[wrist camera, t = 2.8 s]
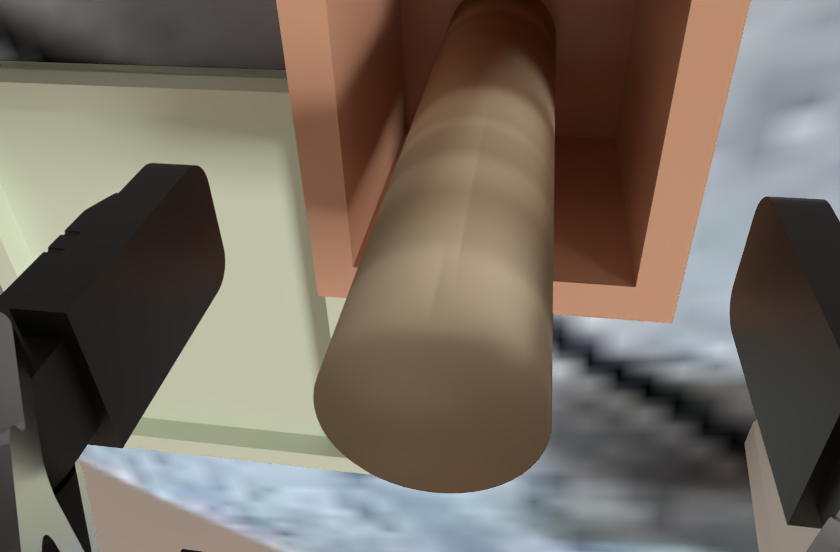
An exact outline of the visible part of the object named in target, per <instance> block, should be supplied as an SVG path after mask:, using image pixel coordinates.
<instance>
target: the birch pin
mask: <svg viewBox="0 0 840 552" xmlns="http://www.w3.org/2000/svg"><path fill="white" fill-rule="evenodd" d="M555 73H556V32H555V26H554V22H553V20H552V17H551V15H550V13H549V11H548V10H547V8H546V7H545V5H544V4H543V3H542V2H541V1H540V0H464V1H463V2H462V3H461V4H460V5H459V6H458V8H457V9H456V11H455V12H454V14H453V16H452V18H451V21H450V23H449V26H448V29H447V31H446V34H445V37H444V39H443V42H442V45H441V47H440V50H439V53H438V55H437V58H436V61H435V63H434V66H433V69H432V71H431V74H430V77H429V79H428V82H427V85H426V87H425V90H424V93H423V95H422V98H421V101H420V103H419V106H418V109H417V111H416V114H415V117H414V119H413V122H412V125H411V127H410V130H409V133H408V135H407V138H406V141H405V143H404V146H403V149H402V151H401V154H400V157H399V159H398V162H397V165H396V167H395V170H394V173H393V175H392V178H391V181H390V183H389V186H388V189H387V191H386V194H385V197H384V199H383V202H382V205H381V207H380V210H379V213H378V215H377V218H376V221H375V223H374V226H373V229H372V231H371V234H370V237H369V239H368V242H367V245H366V247H365V250H364V253H363V255H362V258H361V261H360V263H359V266H358V269H357V271H356V274H355V277H354V279H353V282H352V285H351V287H350V290H349V293H348V295H347V298H346V301H345V303H344V306H343V309H342V311H341V314H340V317H339V319H338V322H337V325H336V327H335V330H334V333H333V335H332V338H331V341H330V343H329V346H328V349H327V351H326V354H325V357H324V359H323V362H322V365H321V367H320V370H319V373H318V375H317V379H316V382H315V385H314V393H313V401H314V409H315V413H316V417H317V419H318V421H319V424H320V426H321V428H322V430H323V431H324V433H325V434H326V436H327V438H328V439H329V440H330V441H331V443H332V444H333V445H334V446H335V447H336V448H337V449H338V450H339V451H340V452H341V453H342V454H343V455H344V456H345V457H347V458H348V459H349V460H350V461H352V462H353V463H354V464H356V465H357V466H359V467H360V468H362V469H364V470H365V471H367V472H369V473H371V474H373V475H375V476H377V477H379V478H381V479H383V480H386V481H388V482H391V483H394V484H397V485H400V486H403V487H407V488H411V489H416V490H421V491H427V492H436V493H466V492H475V491H480V490H485V489H489V488H493V487H496V486H499V485H502V484H504V483H506V482H509V481H511V480H513V479H515V478H516V477H518V476H520V475H522V474H523V473H524V472H526V471H527V470H528V469H529V468H531V467H532V466H533V465H534V464H535V463H536V461H537V460H538V459H539V458H540V456H541V455H542V454H543V452H544V451H545V448H546V446H547V444H548V442H549V438H550V434H551V424H552V340H553V251H554V162H555Z"/></svg>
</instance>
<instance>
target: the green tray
mask: <svg viewBox="0 0 840 552" xmlns="http://www.w3.org/2000/svg"><path fill="white" fill-rule="evenodd" d="M149 163H163V164H182V165H197V166H200V167H201V168H202V169H203V170H204V172H205V174H206V176H207V178H208V182H209V186H210V190H211V195H212V199H213V203H214V208H215V212H216V216H217V221H218V225H219V229H220V234H221V238H222V242H223V247H224V252H225V272H224V277H223V281H222V284H221V287H220V289H219V291H218V293H217V294H216V296H215V298H214V299H213V301H212V303H211V304H210V306H209V308H208V309H207V311H206V312H205V314H204V316H203V317H202V319H201V321H200V322H199V324H198V326H197V327H196V329H195V331H194V332H193V334H192V335H191V337H190V339H189V340H188V342H187V344H186V345H185V347H184V349H183V350H182V352H181V354H180V355H179V357H178V358H177V360H176V362H175V363H174V365H173V367H172V368H171V370H170V372H169V373H168V375H167V377H166V378H165V380H164V381H163V383H162V385H161V386H160V388H159V390H158V391H157V393H156V395H155V396H154V398H153V399H152V401H151V403H150V404H149V406H148V408H147V409H146V411H145V413H144V414H143V416H142V418H141V419H140V421H139V422H138V424H137V426H136V427H135V429H134V431H133V432H132V434H131V436H130V437H129V439H128V441H127V442H126V444H125V445H124V447H128V448H137V449H146V450H155V451H164V452H173V453H182V454H191V455H200V456H209V457H218V458H227V459H236V460H245V461H254V462H263V463H272V464H281V465H290V466H299V467H308V468H317V469H326V470H335V471H344V472H353V473H362V474H370V473H369V472H367V471H365V470H364V469H362V468H360V467H359V466H357V465H356V464H354V463H353V462H352V461H350V460H349V459H348V458H347V457H345V456H344V455H343V454H342V453H341V452H340V451H339V450H338V449H337V448H336V447H335V446H334V445H333V444H332V443H331V441H330V440H329V439H328V438H327V436H326V434H325V433H324V431H323V430H322V428H321V426H320V424H319V421H318V419H317V417H316V413H315V409H314V401H313V393H314V385H315V382H316V379H317V375H318V373H319V370H320V367H321V365H322V362H323V359H324V357H325V354H326V351H327V349H328V346H329V343H330V341H331V338H332V335H333V333H334V330H335V327H336V325H337V322H338V319H339V317H340V314H341V311H342V309H343V306H344V303H345V301H346V298H338V297H325V296H318V292H317V285H316V278H315V271H314V264H313V257H312V250H311V243H310V236H309V229H308V221H307V214H306V207H305V200H304V193H303V186H302V179H301V172H300V165H299V158H298V151H297V144H296V137H295V130H294V123H293V116H292V109H291V102H290V95H289V88H288V81H287V74H286V70H269V69H238V68H207V67H177V66H146V65H116V64H85V63H55V62H24V61H0V285H1V288H2V290H3V292H4V291H5V290H6V289H7V288H8V287H9V286H10V285H11V284H12V283H13V282H14V281H15V280H16V279H17V278H18V277H19V276H20V275H21V274H22V273H23V272H24V271H25V270H26V269H27V268H28V267H29V266H30V265H31V264H32V263H33V262H34V261H35V260H36V259H37V258H38V257H39V256H40V255H41V254H42V253H43V252H48V247H49V246H50V245H51V244H52V243H53V242H54V241H55V240H56V239H57V238H58V237H59V236H60V235H64V234H65V230H66V229H67V228H68V227H69V226H70V225H71V224H72V223H73V221H74V220H75V219H76V218H77V217H78V216H79V215H80V214H81V213H82V212H83V211H84V210H86V209H88V208H89V207H91V206H93V205H95V204H96V203H98V202H100V201H102V200H104V199H105V198H107V197H109V196H111V195H112V194H114V193H119V192H120V191H121V190H122V189H123V188H124V187H125V186H126V185H127V184H128V183H129V181H130V180H131V179H132V178H133V177H134V176H135V175H136V174H137V173H138V172H139V171H140V170H141V169H142V168H143V167H144V166H145V165H146V164H149Z"/></svg>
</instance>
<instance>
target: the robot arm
mask: <svg viewBox="0 0 840 552" xmlns="http://www.w3.org/2000/svg"><path fill="white" fill-rule="evenodd" d="M224 272H225V252H224V247H223V242H222V238H221V234H220V229H219V225H218V221H217V216H216V212H215V208H214V203H213V199H212V195H211V190H210V186H209V182H208V178H207V176H206V174H205V172H204V170H203V169H202V168H201V167H200V166H197V165H182V164H163V163H149V164H146V165H145V166H144V167H143V168H142V169H141V170H140V171H139V172H138V173H137V174H136V175H135V176H134V177H133V178H132V179H131V180H130V181H129V183H128V184H127V185H126V186H125V187H124V188H123V189H122V190H121V191H120V192H119V193H114V194H112V195H111V196H109V197H107V198H105V199H104V200H102V201H100V202H98V203H96V204H95V205H93V206H91V207H89V208H88V209H86V210H84V211H83V212H82V213H81V214H80V215H79V216H78V217H77V218H76V219H75V220H74V221H73V223H72V224H71V225H70V226H69V227H68V228H67V229H66V230H65V234H64V235H60V236H59V237H58V238H57V239H56V240H55V241H54V242H53V243H52V244H51V245H50V246H49V247H48V252H43V253H42V254H41V255H40V256H39V257H38V258H37V259H36V260H35V261H34V262H33V263H32V264H31V265H30V266H29V267H28V268H27V269H26V270H25V271H24V272H23V273H22V274H21V275H20V276H19V277H18V278H17V279H16V280H15V281H14V282H13V283H12V284H11V285H10V286H9V287H8V288H7V289H6V290H5V291H4V292H3V293H2V294H1V295H0V552H99V547H98V542H97V537H96V532H95V527H94V522H93V517H92V512H91V507H90V502H89V497H88V493H87V488H86V483H85V478H84V473H83V471H82V468H81V466H80V464H79V462H78V460H77V459H78V458H79V456H80V455H81V453H82V452H83V450H84V449H85V447H86V446H87V444H89V445H98V446H107V447H116V448H123V447H124V445H125V444H126V442H127V441H128V439H129V437H130V436H131V434H132V432H133V431H134V429H135V427H136V426H137V424H138V422H139V421H140V419H141V418H142V416H143V414H144V413H145V411H146V409H147V408H148V406H149V404H150V403H151V401H152V399H153V398H154V396H155V395H156V393H157V391H158V390H159V388H160V386H161V385H162V383H163V381H164V380H165V378H166V377H167V375H168V373H169V372H170V370H171V368H172V367H173V365H174V363H175V362H176V360H177V358H178V357H179V355H180V354H181V352H182V350H183V349H184V347H185V345H186V344H187V342H188V340H189V339H190V337H191V335H192V334H193V332H194V331H195V329H196V327H197V326H198V324H199V322H200V321H201V319H202V317H203V316H204V314H205V312H206V311H207V309H208V308H209V306H210V304H211V303H212V301H213V299H214V298H215V296H216V294H217V293H218V291H219V289H220V287H221V284H222V281H223V277H224ZM730 324H731V330H732V334H733V338H734V341H735V345H736V348H737V352H738V355H739V359H740V362H741V366H742V369H743V373H744V376H745V380H746V383H747V386H748V390H749V393H750V397H751V400H752V404H753V407H754V411H755V414H756V418H757V421H758V425H759V428H760V432H761V435H762V439H763V442H764V446H765V449H766V453H767V456H768V460H769V463H770V467H771V470H772V473H773V477H774V480H775V484H776V487H777V491H778V494H779V498H780V501H781V505H782V508H783V512H784V515H785V519H786V522H787V525H791V526H800V527H809V528H818V529H821V530H820V532H819V533H818V535H817V536H816V538H815V539H814V541H813V542H812V544H811V545H810V547H809V548H808V550H807V551H806V552H840V221H839V220H838V218H837V216H836V214H835V213H834V211H833V209H832V207H831V206H830V204H829V203H828V202H827V201H826V200H822V199H803V198H784V197H764V198H763V199H762V200H761V201H760V203H759V204H758V206H757V209H756V211H755V214H754V218H753V221H752V225H751V228H750V231H749V235H748V238H747V241H746V245H745V248H744V251H743V255H742V258H741V262H740V265H739V268H738V272H737V275H736V278H735V282H734V285H733V289H732V294H731V301H730ZM181 552H200V551H193V550H185V549H182V550H181Z"/></svg>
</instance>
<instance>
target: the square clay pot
mask: <svg viewBox="0 0 840 552" xmlns="http://www.w3.org/2000/svg"><path fill="white" fill-rule="evenodd" d="M463 1H464V0H276V4H277V11H278V18H279V25H280V32H281V39H282V46H283V53H284V60H285V67H286V74H287V81H288V88H289V95H290V102H291V109H292V116H293V123H294V130H295V137H296V144H297V151H298V158H299V165H300V172H301V179H302V186H303V193H304V200H305V207H306V214H307V221H308V229H309V236H310V243H311V250H312V257H313V264H314V271H315V278H316V285H317V292H318V296H325V297H338V298H347V295H348V293H349V290H350V287H351V285H352V282H353V279H354V277H355V274H356V271H357V269H358V266H359V263H360V261H361V258H362V255H363V253H364V250H365V247H366V245H367V242H368V239H369V237H370V234H371V231H372V229H373V226H374V223H375V221H376V218H377V215H378V213H379V210H380V207H381V205H382V202H383V199H384V197H385V194H386V191H387V189H388V186H389V183H390V181H391V178H392V175H393V173H394V170H395V167H396V165H397V162H398V159H399V157H400V154H401V151H402V149H403V146H404V143H405V141H406V138H407V135H408V133H409V130H410V127H411V125H412V122H413V119H414V117H415V114H416V111H417V109H418V106H419V103H420V101H421V98H422V95H423V93H424V90H425V87H426V85H427V82H428V79H429V77H430V74H431V71H432V69H433V66H434V63H435V61H436V58H437V55H438V53H439V50H440V47H441V45H442V42H443V39H444V37H445V34H446V31H447V29H448V26H449V23H450V21H451V18H452V16H453V14H454V12H455V11H456V9H457V8H458V6H459V5H460V4H461V3H462V2H463ZM540 1H541V2H542V3H543V4H544V5H545V7H546V8H547V10H548V11H549V13H550V15H551V17H552V20H553V22H554V26H555V32H556V73H555V162H554V251H553V314H558V315H571V316H584V317H597V318H610V319H623V320H636V321H649V322H662V323H673V319H674V315H675V311H676V306H677V302H678V298H679V294H680V290H681V286H682V282H683V278H684V273H685V269H686V265H687V261H688V257H689V253H690V249H691V245H692V240H693V236H694V232H695V228H696V224H697V220H698V216H699V212H700V207H701V203H702V199H703V195H704V191H705V187H706V183H707V179H708V174H709V170H710V166H711V162H712V158H713V154H714V150H715V146H716V141H717V137H718V133H719V129H720V125H721V121H722V117H723V113H724V108H725V104H726V100H727V96H728V92H729V88H730V84H731V80H732V76H733V71H734V67H735V63H736V59H737V55H738V51H739V47H740V43H741V38H742V34H743V30H744V26H745V22H746V18H747V14H748V10H749V5H750V1H751V0H540Z"/></svg>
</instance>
